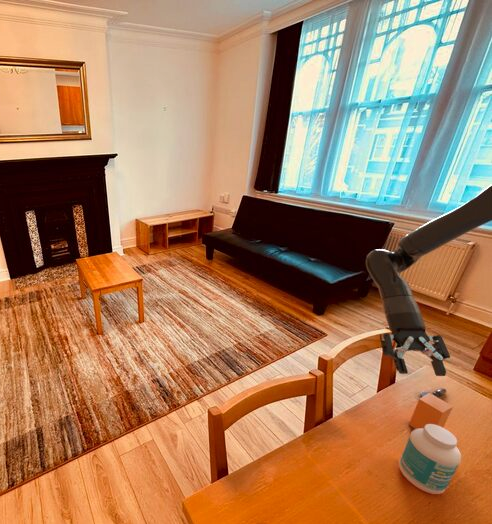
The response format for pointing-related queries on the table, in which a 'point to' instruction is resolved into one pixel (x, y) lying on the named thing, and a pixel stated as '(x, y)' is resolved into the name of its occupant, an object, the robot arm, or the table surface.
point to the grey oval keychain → (435, 393)
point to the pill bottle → (430, 458)
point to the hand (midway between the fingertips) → (422, 374)
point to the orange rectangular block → (430, 412)
